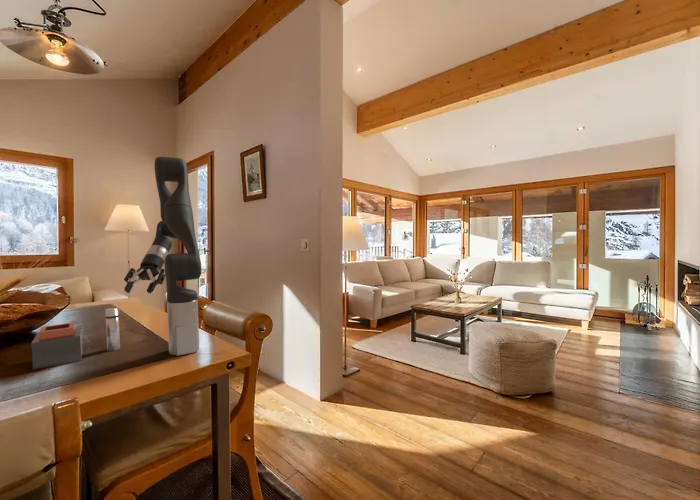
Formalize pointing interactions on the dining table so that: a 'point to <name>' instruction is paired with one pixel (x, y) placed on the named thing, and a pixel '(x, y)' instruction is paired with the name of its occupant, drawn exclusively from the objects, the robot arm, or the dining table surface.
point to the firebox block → (57, 345)
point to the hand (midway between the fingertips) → (137, 292)
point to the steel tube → (112, 329)
